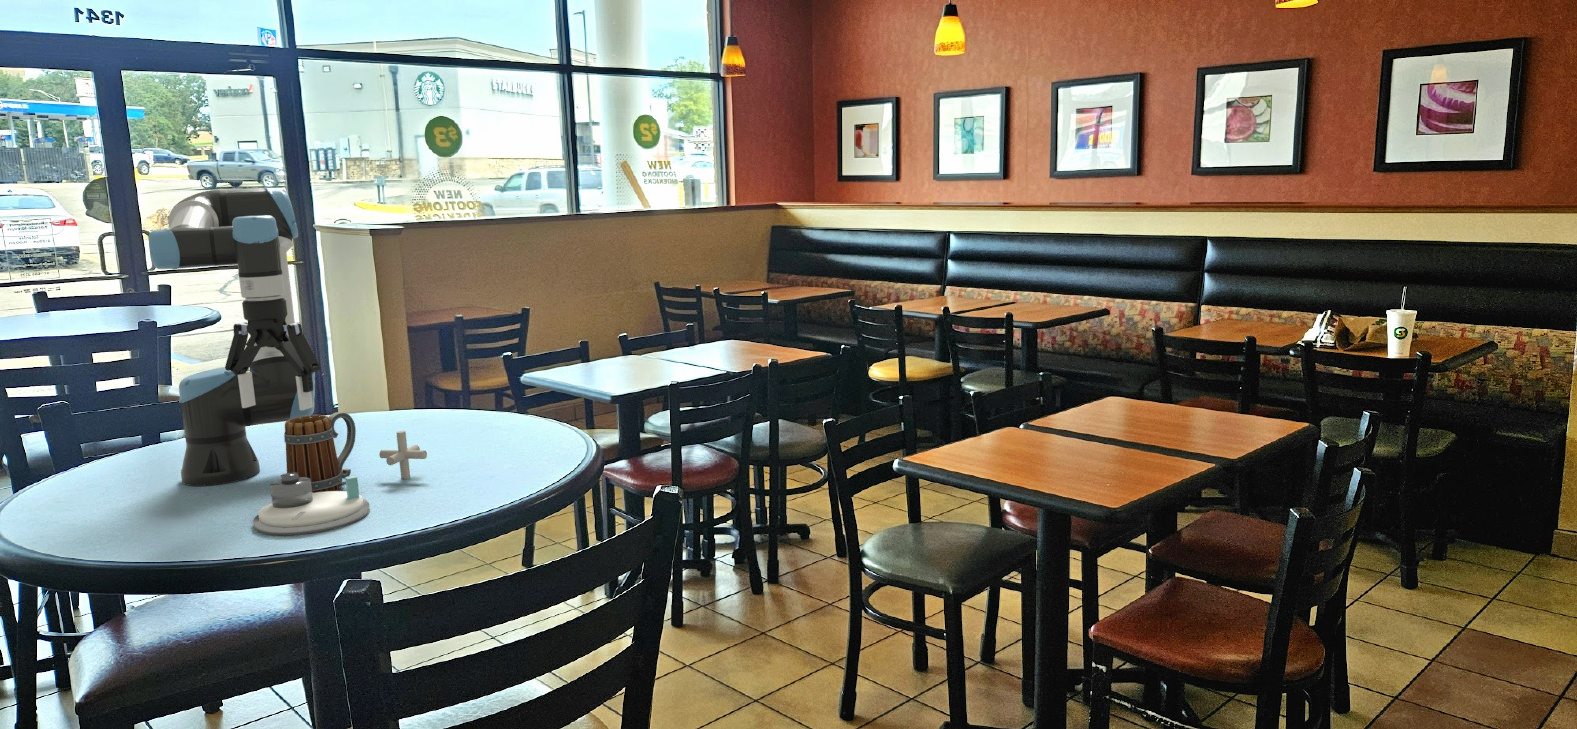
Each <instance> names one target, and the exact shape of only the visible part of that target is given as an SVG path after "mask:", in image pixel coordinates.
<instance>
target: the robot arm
mask: <svg viewBox="0 0 1577 729" xmlns="http://www.w3.org/2000/svg"><path fill="white" fill-rule="evenodd" d="M168 226H169V228H168V227H167V228H163V229H155V230H151V231H150V232H149V235H148V247H149V248H148V249H149V253H150V254H149V255H150V259H151V262H152V263H151V264H152V266H153V267H154V268H155V269H158V270H168V269H169V270H178V269H188V268H190V269H191V268H204V267H205V268H206V267H217V266H218V267H222V266H237V269H238V271H237V272H238V280H239V288H240V289H239V290H240V295H241V298H243V299H244V300H243V301H242V302H241V305H242V306H241V307H242V314H243V319H244V320H246V321H244V322H238V323H234V324H233V337H232V340H231V343H230V347H229V352H228V355H227V359H226V362H225V365H224V366H222V367H217V368H211V369H208V370H203V371H199V372H196V373H193V374H190V375H188V376H186V377H184V378H183V379H182V380H180V382H179V384H178V392H179V399H178V401H179V402H178V403H179V404H180V408H181V415H182V422H183V431H184V438H185V444H186V446H185V452H184V457H183V461H182V462H183V463H182V467H181V470H180V477H181V482H182V484H183V485H186V486H196V487H197V486H199V487H201V486H203V487H204V486H213V485H214V486H215V485H223V484H228V483H234V482H238V481H242V480H245V479H249V478H251V477H254V476H255V475H257V474H259V473H260V471H261V468H260V461H259V459H258V457H257V455H256V453H255V451H254V449H253V447H252V445H251V443H250V442H249V440H248V436H247V430H246V427H247V426H249V427H250V426H257V425H263V424H264V425H266V424H273V423H274V424H276V423H282V422H284V423H285V422H286V421H287V420H289V419H293V418H295V417H300V418H302V416H308V415H309V416H310V417H312V415H314V412H315V411H314V410H315V391H316V390H315V389H316V388H315V387H316V381H315V380H316V379H315V378H316V372H318V371H321V365H320V363H319V362H318V359H317V357H316V356H315V354H314V352H313V350H312V348H311V346H310V344H309V342H308V341H307V338H306V337H305V335H304V333H303V328H302V324H301V323H300V322H295V313H294V306H293V297H292V296H293V295H292V289H291V288H292V287H291V279H290V271H289V264H288V254H287V252H288V251H290V249H291V248H293V246H294V243H293V240H294V239H297V238H299V230H298V225H297V222H296V217H295V213H294V209H293V206H292V201H291V198H290V197H289V194H288V192H287V191H286V190H285V189H284V188H281V187H258V188H256V187H255V188H231V189H211V190H204V191H200V192H198V193H194V194H193V195H190V196H187V197H186V198H184V199H182V200H180V201H178V203H176V204H175V205H174V206H173V207H172V209H171V210H170V212H169V215H168ZM249 336H250V337H249Z"/></svg>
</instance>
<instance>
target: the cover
mask: <svg viewBox="0 0 1577 729" xmlns="http://www.w3.org/2000/svg"><path fill="white" fill-rule="evenodd" d="M269 488H270V494H271V503H272V505H273V507H275V508H293V507H298V506H303V505H306V504H308V503H310V502H312V501H313V495H312V487H311V479H310V478H307V477H299V476H298V473H296V472H292V473H287V472H286V473H283V474H280V479H278V480H276V481H273V482H271V483H270V485H269Z"/></svg>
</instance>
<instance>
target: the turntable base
mask: <svg viewBox="0 0 1577 729" xmlns="http://www.w3.org/2000/svg"><path fill="white" fill-rule="evenodd" d="M370 510H371V509H370V502H369V501H368V500H367V499H364V498H363V507H362V508H361V509H360V510H359V511H357V512H356V513H354V514H352V515H349V516H347V517H344V518H341V519H337V520H334V521H330V522H326V523H321V524H315V525H308V526H299V527H273V526H267V525H264V524H262V523H261V522H260V521H259V515H258V514H257V515H256V516H255V517H253V520H252V524H253V529H254V531H255V532H256V533H259V534H260V535H261V534H262V535H267V536H272V537H273V536H274V537H275V536H277V537H287V536H288V537H292V536H293V537H294V536H304V535H312V534H318V533H324V532H329V531H333V530H337V529H340V528H344V527H347V526H349V525H351V524H354V523H356V522H359V521H362V520H363V519H364V518H366V517H367V516H368V515H369V514H370V512H371V511H370Z"/></svg>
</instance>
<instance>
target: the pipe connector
mask: <svg viewBox="0 0 1577 729" xmlns="http://www.w3.org/2000/svg"><path fill="white" fill-rule="evenodd" d="M406 432H407V431H406V430H398V431H396V432H395V433H396V442H397V449H381V450H380V451H379V455H378V456H379V458H380V459H386V464H387V465H388V466H393V465H396V464H398V463H399V468H400V469H399V470H400V477H401V478H400V479H403V480H406V479H410V478H411V470H410V462H409V461H410V460H409V459H412V460H426V459H427V457H428V453H427V451H426V450H421V449H420V446H419V445H418V444H413V445H411V446H409V447H408V442H407V433H406Z"/></svg>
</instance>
